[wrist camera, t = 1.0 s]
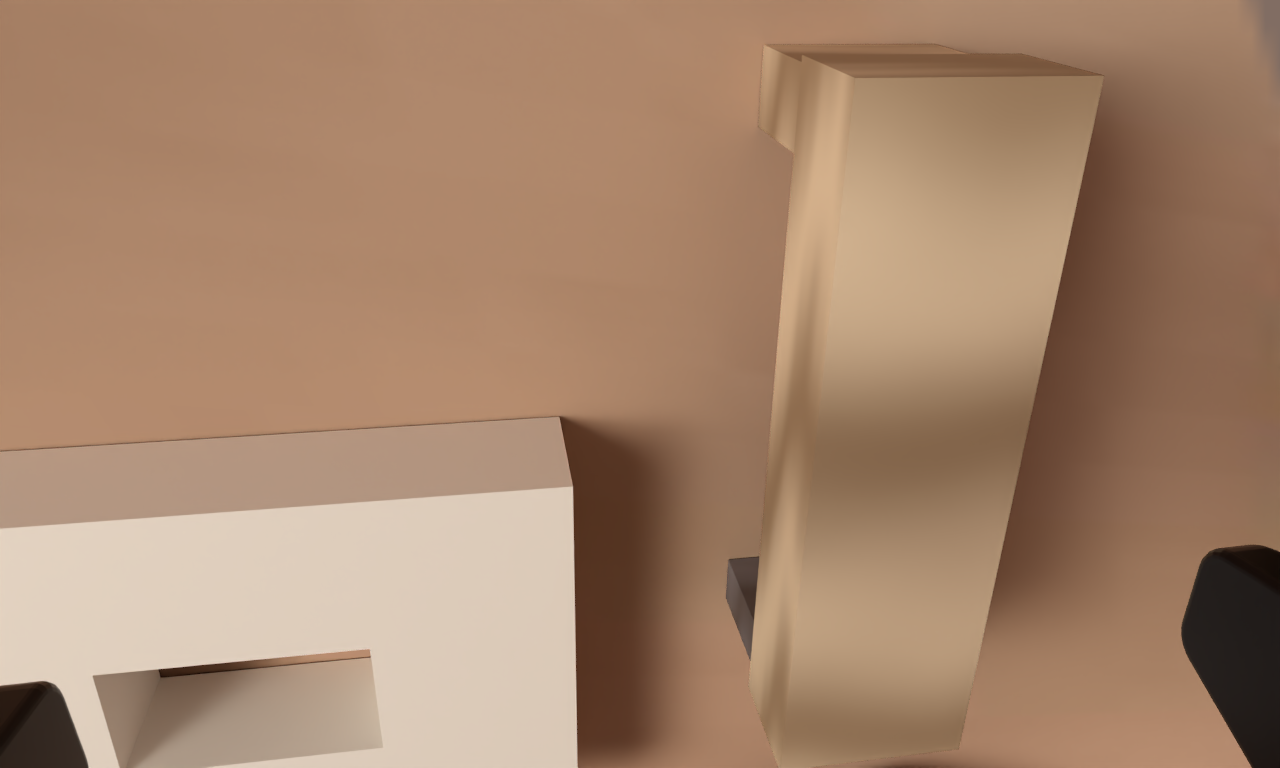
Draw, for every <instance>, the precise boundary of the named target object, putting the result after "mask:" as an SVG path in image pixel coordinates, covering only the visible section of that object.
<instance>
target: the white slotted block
mask: <svg viewBox="0 0 1280 768" xmlns="http://www.w3.org/2000/svg"><path fill="white" fill-rule="evenodd" d="M363 649H370V653H371V657H370V658H360V659H349V660H339V661H329V662H319V663H308V664H298V665H288V666H278V667H268V668H257V669H247V670H237V671H227V672H216V673H206V674H196V675H186V676H175V677H165V678H160V674H159V670H158V669H166V668H177V667H187V666H197V665H208V664H218V663H228V662H239V661H249V660H260V659H270V658H280V657H291V656H301V655H312V654H322V653H332V652H343V651H353V650H363ZM37 681H47V682H51V683H53V684H55V685H56V686H57V687H58V688H59V689H60V691H61V692H62V694H63V696H64V698H65V701H66V704H67V707H68V709H69V712H70V715H71V717H72V720H73V723H74V725H75V728H76V731H77V734H78V736H79V739H80V742H81V744H82V747H83V750H84V752H85V755H86V758H87V762H88V766H89V768H578V766H577V704H576V642H575V580H574V518H573V484H572V479H571V474H570V469H569V464H568V458H567V453H566V448H565V443H564V438H563V433H562V428H561V423H560V418H559V417H547V418H531V419H515V420H499V421H483V422H467V423H451V424H435V425H419V426H403V427H387V428H371V429H355V430H339V431H323V432H307V433H291V434H275V435H259V436H243V437H227V438H211V439H195V440H179V441H163V442H147V443H131V444H115V445H99V446H83V447H67V448H51V449H35V450H19V451H3V452H0V686H1V685H10V684H19V683H28V682H37Z"/></svg>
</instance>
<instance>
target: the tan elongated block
mask: <svg viewBox="0 0 1280 768" xmlns="http://www.w3.org/2000/svg"><path fill="white" fill-rule="evenodd" d="M1103 80H1104V75H1100V74H1096V73H1092V72H1088V71H1085V70H1081V69H1077V68H1073V67H1070V66H1066V65H1062V64H1058V63H1055V62H1051V61H1047V60H1043V59H1039V58H1036V57H1032V56H1028V55H1024V54H967V53H964V52H960V51H957V50H954V49H950V48H947V47H943V46H940V45H936V44H818V45H764V47H763V62H762V76H761V91H760V106H759V120H758V127H759V128H760V129H762V130H763V131H764V132H766V133H767V134H768V135H770V136H771V137H772V138H774V139H775V140H776V141H778V142H779V143H780V144H782V145H783V146H785V147H786V148H787V149H789V150H790V151H791V152H793V153H794V156H793V168H792V180H791V192H790V203H789V215H788V227H787V239H786V250H785V262H784V274H783V286H782V297H781V309H780V321H779V333H778V345H777V356H776V368H775V380H774V392H773V403H772V415H771V427H770V439H769V451H768V462H767V474H766V486H765V498H764V509H763V521H762V533H761V545H760V557H753V558H742V559H731V560H728V575H727V590H726V599H727V602H728V604H729V607H730V610H731V612H732V615H733V617H734V620H735V623H736V625H737V628H738V630H739V633H740V635H741V638H742V641H743V643H744V646H745V648H746V651H747V654H748V656H749V659H750V661H751V663H750V674H749V686H748V687H749V690H750V692H751V695H752V698H753V700H754V703H755V706H756V708H757V711H758V714H759V717H760V719H761V722H762V725H763V727H764V730H765V733H766V735H767V738H768V741H769V744H770V746H771V749H772V752H773V754H774V757H775V760H776V762H777V765H778V768H812V767H820V766H828V765H836V764H844V763H852V762H860V761H868V760H876V759H885V758H893V757H901V756H909V755H917V754H925V753H933V752H941V751H949V750H958V749H959V746H960V741H961V737H962V732H963V728H964V723H965V718H966V714H967V709H968V704H969V700H970V695H971V691H972V686H973V681H974V677H975V672H976V667H977V663H978V658H979V654H980V649H981V644H982V640H983V635H984V630H985V626H986V621H987V617H988V612H989V607H990V603H991V598H992V593H993V589H994V584H995V580H996V575H997V570H998V566H999V561H1000V556H1001V552H1002V547H1003V543H1004V538H1005V533H1006V529H1007V524H1008V519H1009V515H1010V510H1011V506H1012V501H1013V496H1014V492H1015V487H1016V482H1017V478H1018V473H1019V469H1020V464H1021V459H1022V455H1023V450H1024V445H1025V441H1026V436H1027V432H1028V427H1029V422H1030V418H1031V413H1032V408H1033V404H1034V399H1035V395H1036V390H1037V385H1038V381H1039V376H1040V371H1041V367H1042V362H1043V358H1044V353H1045V348H1046V344H1047V339H1048V334H1049V330H1050V325H1051V321H1052V316H1053V311H1054V307H1055V302H1056V297H1057V293H1058V288H1059V284H1060V279H1061V274H1062V270H1063V265H1064V260H1065V256H1066V251H1067V247H1068V242H1069V237H1070V233H1071V228H1072V223H1073V219H1074V214H1075V210H1076V205H1077V200H1078V196H1079V191H1080V186H1081V182H1082V177H1083V173H1084V168H1085V163H1086V159H1087V154H1088V149H1089V145H1090V140H1091V136H1092V131H1093V126H1094V122H1095V117H1096V112H1097V108H1098V103H1099V99H1100V94H1101V89H1102V85H1103Z"/></svg>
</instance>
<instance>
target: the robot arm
mask: <svg viewBox="0 0 1280 768" xmlns="http://www.w3.org/2000/svg"><path fill="white" fill-rule="evenodd" d="M1181 636H1182V641H1183V646H1184V649H1185V651H1186V654H1187V656H1188V658H1189V660H1190V662H1191V663H1192V665H1193V667H1194V668H1195V670H1196V672H1197V674H1198V675H1199V677H1200V679H1201V681H1202V682H1203V684H1204V686H1205V687H1206V689H1207V691H1208V693H1209V694H1210V696H1211V698H1212V699H1213V701H1214V703H1215V705H1216V706H1217V708H1218V710H1219V712H1220V713H1221V715H1222V717H1223V718H1224V720H1225V722H1226V724H1227V725H1228V727H1229V729H1230V730H1231V732H1232V734H1233V736H1234V737H1235V739H1236V741H1237V743H1238V744H1239V746H1240V748H1241V749H1242V751H1243V753H1244V755H1245V756H1246V758H1247V760H1248V762H1249V763H1250V765H1251V767H1252V768H1280V552H1278V551H1276V550H1273V549H1271V548H1268V547H1265V546H1261V545H1244V546H1235V547H1226V548H1218V549H1215V550H1212V551H1210V552H1209V553H1208V554H1207V555H1206V556H1205V557H1204V558H1203V559H1202V561H1201V563H1200V566H1199V569H1198V572H1197V576H1196V579H1195V582H1194V585H1193V589H1192V592H1191V595H1190V599H1189V602H1188V605H1187V608H1186V612H1185V615H1184V618H1183V622H1182V627H1181ZM0 768H89V766H88V762H87V758H86V755H85V752H84V750H83V747H82V744H81V742H80V739H79V736H78V734H77V731H76V728H75V725H74V723H73V720H72V717H71V715H70V712H69V709H68V707H67V704H66V701H65V698H64V696H63V694H62V692H61V691H60V689H59V688H58V687H57V686H56V685H55V684H53V683H51V682H47V681H37V682H28V683H19V684H10V685H1V686H0Z"/></svg>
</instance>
